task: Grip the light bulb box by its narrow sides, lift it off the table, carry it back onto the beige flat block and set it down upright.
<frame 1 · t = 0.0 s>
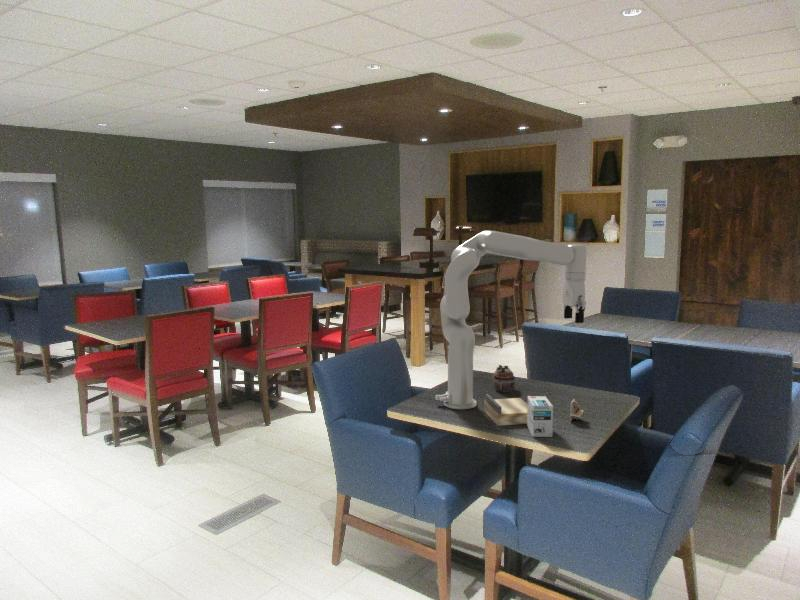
hand: (573, 320, 227), 31 cm above the table, tool pointing down, fingers open, 9 cm apart
architectural model: (574, 421, 207), on the table
cupcake: (503, 389, 244), on the table
beige flat block: (509, 416, 211), on the table
light bulb box: (539, 432, 197), on the table
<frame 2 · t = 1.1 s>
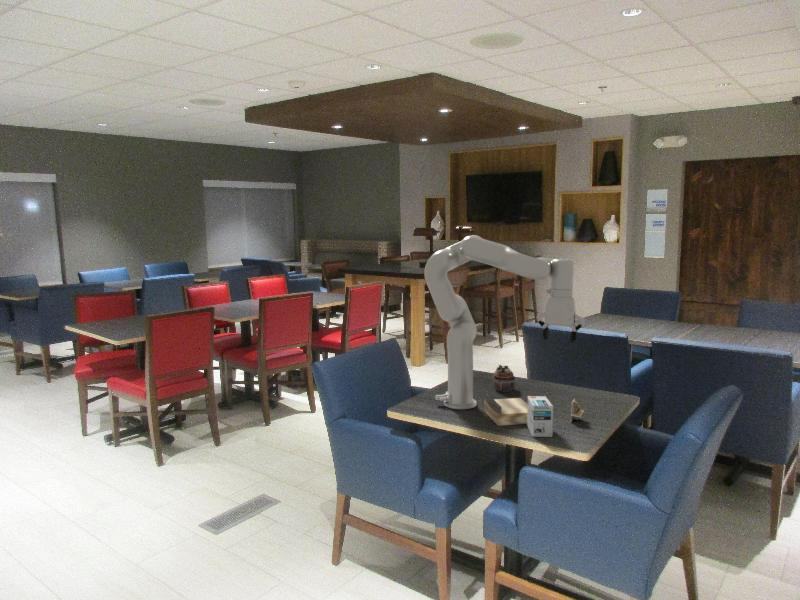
hand: (559, 340, 211), 27 cm above the table, tool pointing down, fingers open, 9 cm apart
nothing on the table moved.
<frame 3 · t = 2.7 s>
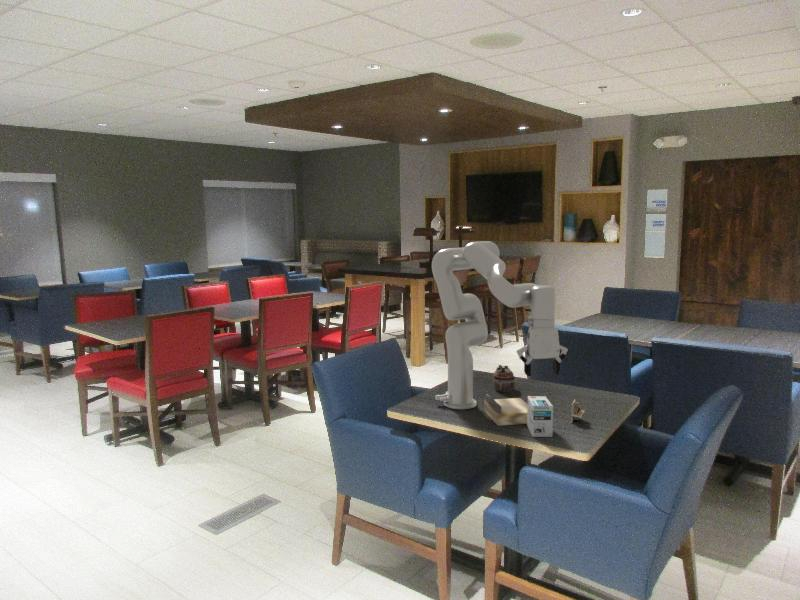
hand: (541, 374, 194), 20 cm above the table, tool pointing down, fingers open, 9 cm apart
nothing on the table moved.
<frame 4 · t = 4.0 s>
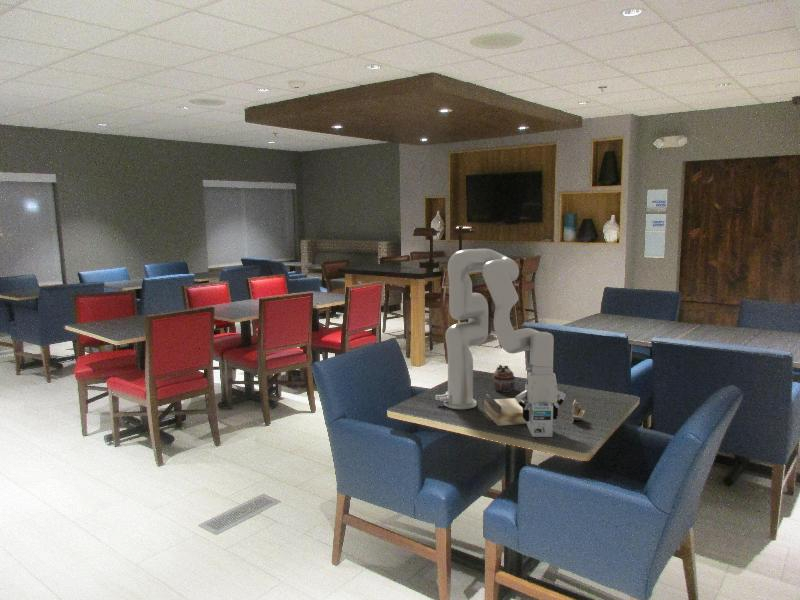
hand: (540, 419, 196), 4 cm above the table, tool pointing down, fingers open, 9 cm apart
nothing on the table moved.
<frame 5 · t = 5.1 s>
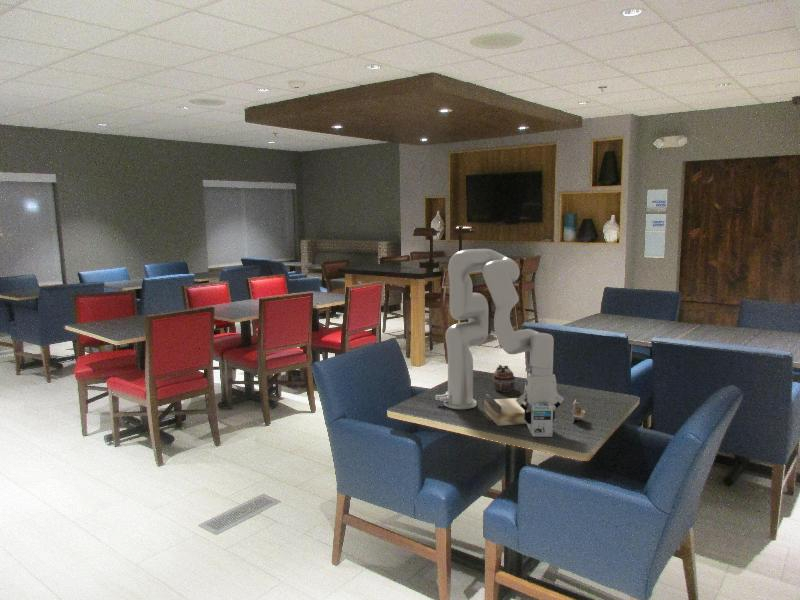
hand: (539, 421, 196), 3 cm above the table, tool pointing down, fingers closed on light bulb box, 7 cm apart
light bulb box: (539, 431, 197), on the table, touching gripper
everything else where it was.
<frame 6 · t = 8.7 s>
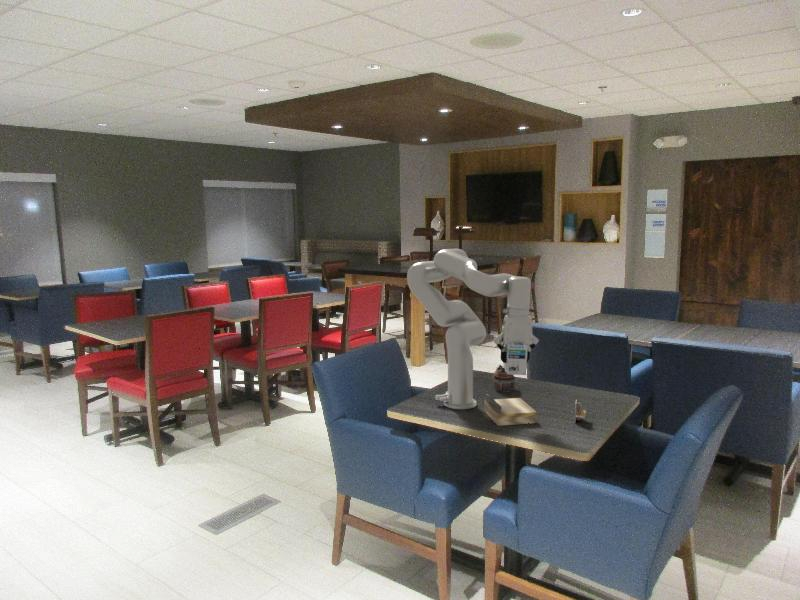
hand: (514, 361, 206), 21 cm above the table, tool pointing down, fingers closed on light bulb box, 7 cm apart
light bulb box: (514, 371, 206), point 17 cm above the table, touching gripper
when the fingers open (9 cm above the table, at t = 12.4 s): light bulb box drops 1 cm, resting on beige flat block.
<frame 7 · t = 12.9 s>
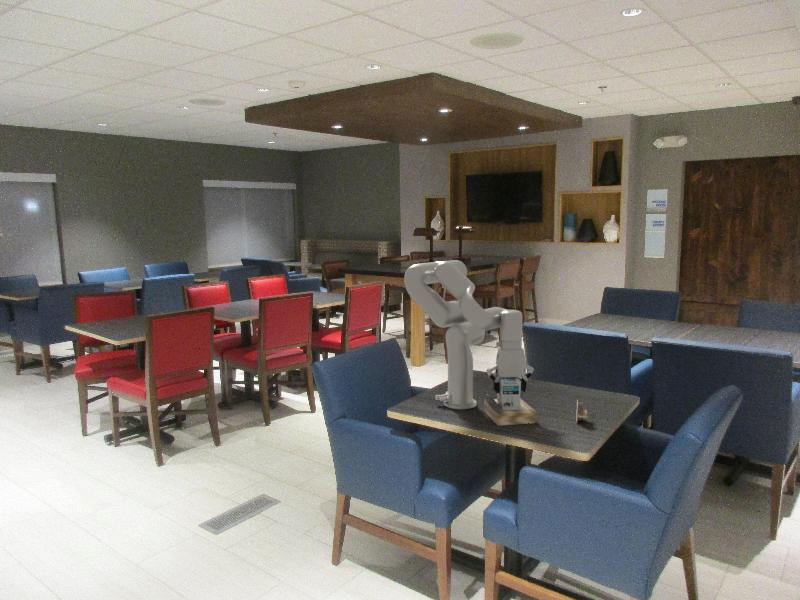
hand: (509, 391, 210), 9 cm above the table, tool pointing down, fingers open, 9 cm apart
light bulb box: (508, 406, 211), point 4 cm above the table, touching beige flat block
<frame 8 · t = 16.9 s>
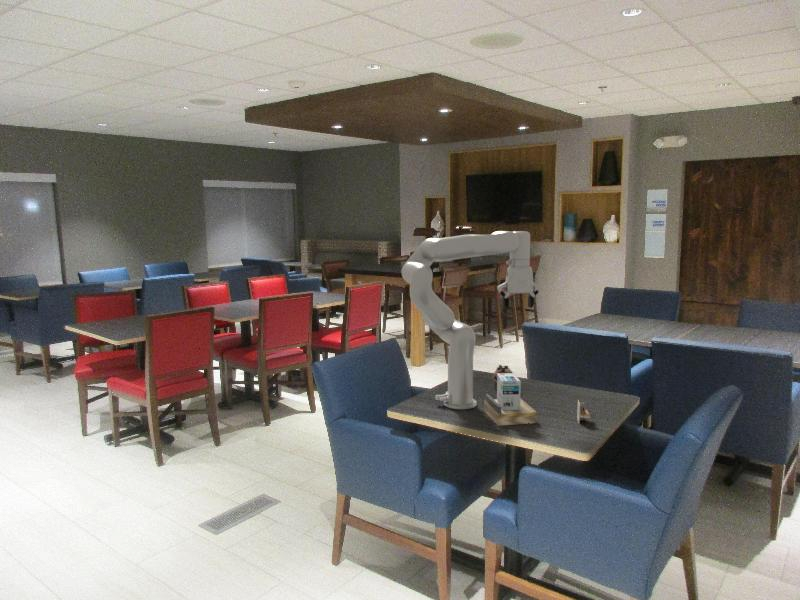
hand: (518, 307, 227), 36 cm above the table, tool pointing down, fingers open, 9 cm apart
at the end: light bulb box inside the target area on the beige flat block (0.5 cm from its centre), point 3.8 cm above the beige flat block's base; light bulb box tilted 0°; the gripper is holding nothing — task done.
